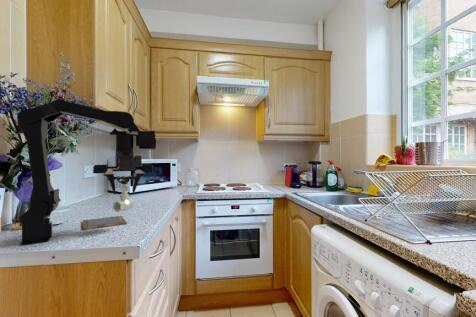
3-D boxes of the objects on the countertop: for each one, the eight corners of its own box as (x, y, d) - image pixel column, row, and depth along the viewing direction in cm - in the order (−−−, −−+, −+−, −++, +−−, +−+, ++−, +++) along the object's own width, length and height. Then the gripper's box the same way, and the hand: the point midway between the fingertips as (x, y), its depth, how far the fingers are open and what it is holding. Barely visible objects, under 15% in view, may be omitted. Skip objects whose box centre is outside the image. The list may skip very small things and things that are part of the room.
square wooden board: (83, 230, 83) (83, 227, 83) (82, 221, 95) (82, 219, 95) (126, 224, 91) (126, 221, 91) (121, 217, 103) (121, 215, 103)
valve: (138, 209, 86) (138, 176, 86) (124, 213, 79) (125, 177, 79) (123, 208, 87) (123, 175, 88) (108, 212, 81) (109, 176, 81)
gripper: (94, 146, 72) (93, 198, 72) (157, 148, 82) (157, 194, 82) (93, 148, 81) (92, 194, 81) (150, 150, 91) (149, 190, 91)
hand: (124, 193), depth 83 cm, fingers closed on valve, 6 cm apart
